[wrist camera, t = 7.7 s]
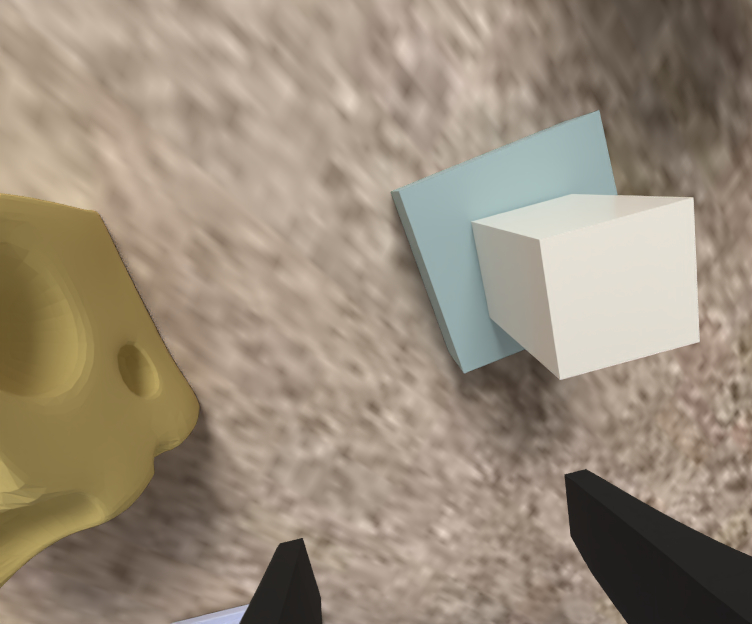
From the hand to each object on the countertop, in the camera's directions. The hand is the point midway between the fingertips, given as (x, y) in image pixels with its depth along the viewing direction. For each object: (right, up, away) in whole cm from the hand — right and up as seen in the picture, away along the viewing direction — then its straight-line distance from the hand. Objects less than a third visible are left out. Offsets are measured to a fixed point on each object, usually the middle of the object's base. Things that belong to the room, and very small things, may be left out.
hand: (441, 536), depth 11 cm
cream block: (+4, +8, +6) cm, 11 cm away
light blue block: (+4, +9, +9) cm, 13 cm away
